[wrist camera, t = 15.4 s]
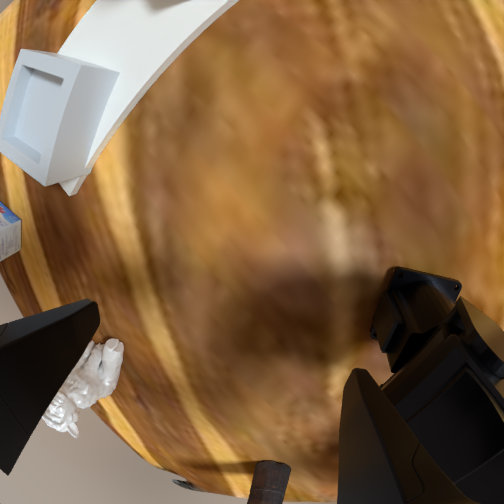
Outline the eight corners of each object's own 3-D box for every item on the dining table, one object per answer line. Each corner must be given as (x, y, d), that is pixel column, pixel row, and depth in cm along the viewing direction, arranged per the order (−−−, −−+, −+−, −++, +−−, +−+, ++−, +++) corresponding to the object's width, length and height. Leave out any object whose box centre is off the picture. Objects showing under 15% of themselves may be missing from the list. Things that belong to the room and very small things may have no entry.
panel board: (228, -99, 10) (226, -105, 9) (324, -56, 11) (324, -62, 10) (26, 124, 21) (19, 125, 20) (76, 193, 23) (69, 196, 22)
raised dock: (127, 74, 18) (81, 64, 13) (90, 173, 22) (45, 186, 17) (63, 54, 18) (21, 48, 13) (35, 139, 22) (-6, 147, 16)
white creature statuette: (125, 338, 28) (63, 417, 17) (142, 390, 32) (97, 463, 21) (66, 321, 30) (4, 379, 19) (85, 371, 33) (39, 429, 22)
